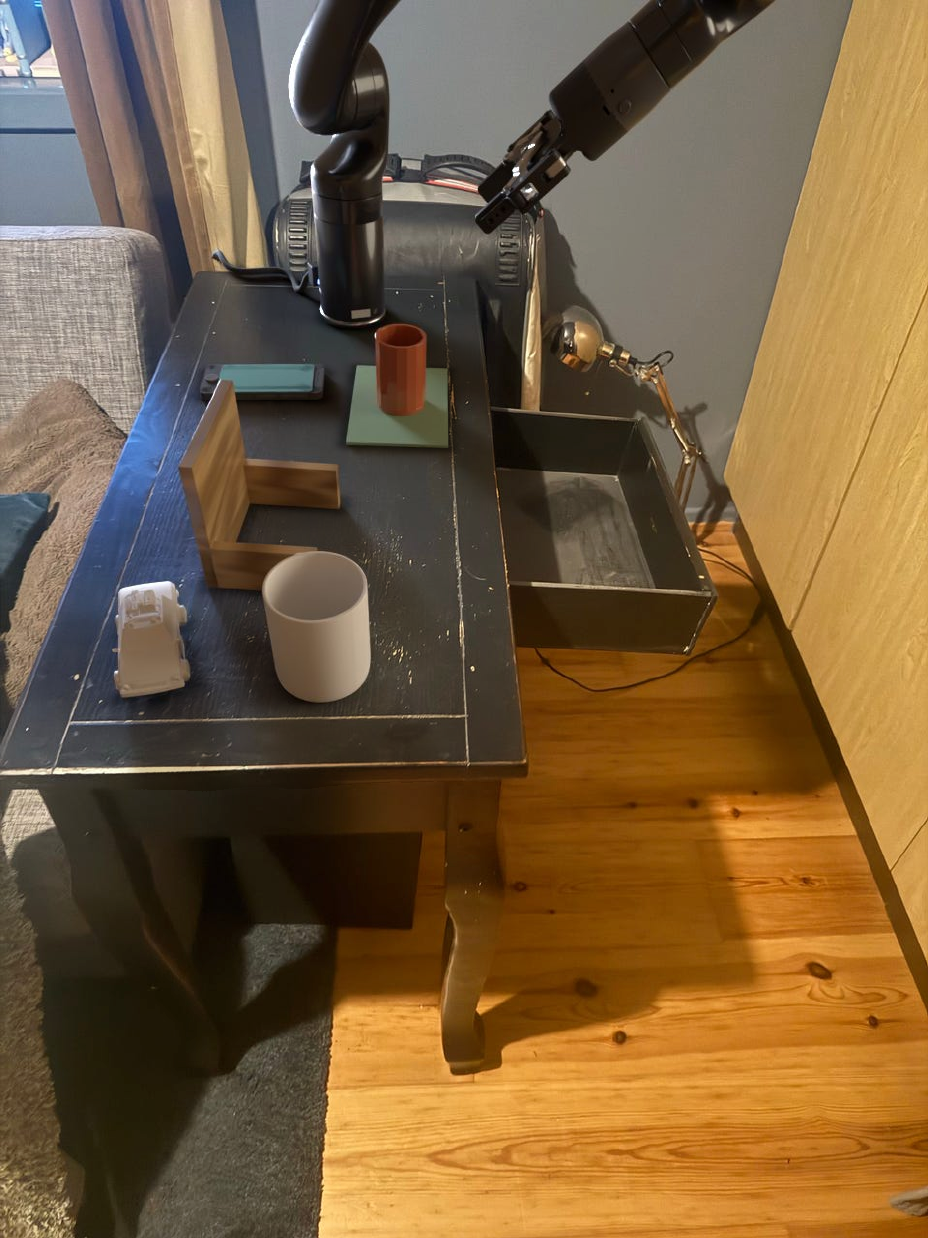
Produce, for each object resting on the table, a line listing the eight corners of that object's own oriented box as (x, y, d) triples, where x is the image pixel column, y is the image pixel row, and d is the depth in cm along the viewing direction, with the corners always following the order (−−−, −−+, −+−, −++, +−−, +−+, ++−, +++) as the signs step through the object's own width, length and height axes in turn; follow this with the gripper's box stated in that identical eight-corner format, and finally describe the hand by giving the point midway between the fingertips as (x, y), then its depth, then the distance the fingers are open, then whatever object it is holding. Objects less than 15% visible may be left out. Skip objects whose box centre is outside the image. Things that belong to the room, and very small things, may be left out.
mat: (357, 367, 109) (357, 364, 109) (447, 371, 110) (447, 368, 109) (346, 444, 97) (346, 441, 96) (447, 448, 97) (448, 445, 97)
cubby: (340, 502, 89) (332, 386, 79) (319, 594, 79) (306, 475, 69) (241, 495, 89) (220, 379, 79) (207, 587, 79) (178, 466, 69)
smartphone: (206, 362, 106) (323, 362, 107) (208, 371, 107) (324, 370, 108) (198, 392, 101) (321, 392, 102) (200, 401, 101) (322, 400, 103)
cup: (369, 396, 103) (367, 328, 97) (412, 386, 106) (413, 320, 99) (388, 420, 100) (387, 351, 93) (433, 409, 102) (434, 342, 96)
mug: (260, 618, 76) (244, 533, 69) (346, 600, 79) (340, 515, 71) (287, 716, 69) (273, 632, 61) (382, 692, 71) (379, 609, 63)
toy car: (120, 714, 68) (98, 660, 63) (120, 613, 76) (101, 558, 71) (194, 700, 69) (178, 647, 64) (187, 603, 77) (172, 549, 72)
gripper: (581, 40, 81) (460, 159, 89) (591, 78, 71) (453, 207, 79) (624, 105, 85) (504, 213, 93) (639, 149, 75) (503, 266, 83)
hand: (481, 210), depth 86 cm, fingers open, 8 cm apart
